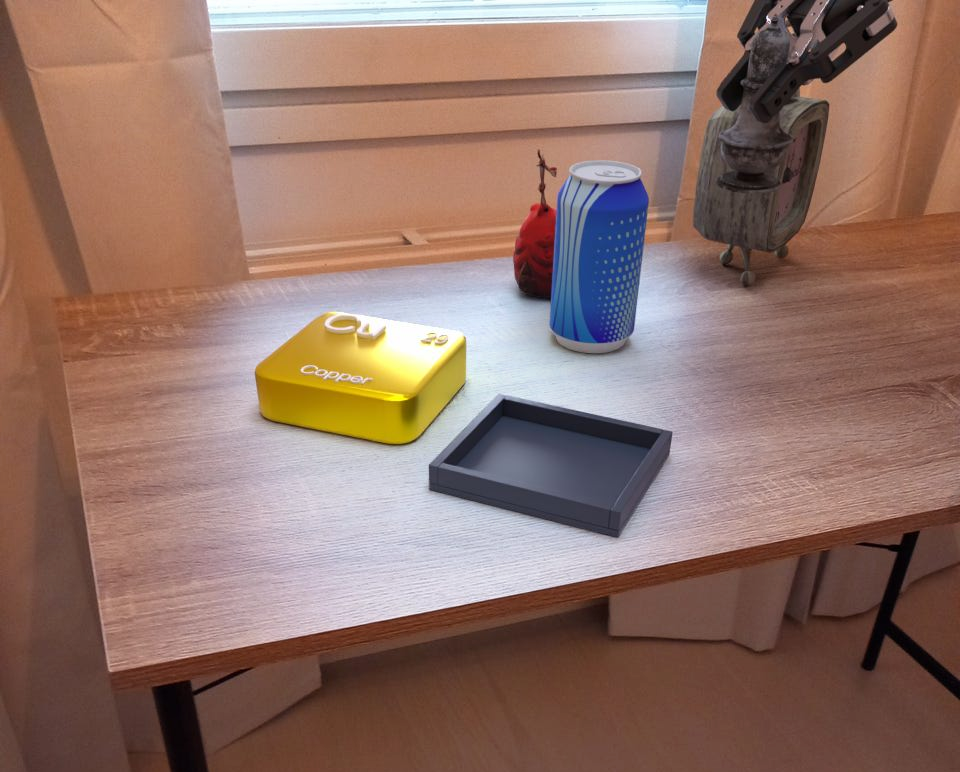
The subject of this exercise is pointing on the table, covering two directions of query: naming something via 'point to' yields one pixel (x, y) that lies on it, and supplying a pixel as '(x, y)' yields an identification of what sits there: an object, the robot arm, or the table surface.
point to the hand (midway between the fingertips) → (740, 108)
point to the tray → (553, 463)
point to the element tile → (362, 377)
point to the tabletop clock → (767, 214)
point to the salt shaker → (756, 122)
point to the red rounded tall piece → (536, 244)
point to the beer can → (598, 255)
